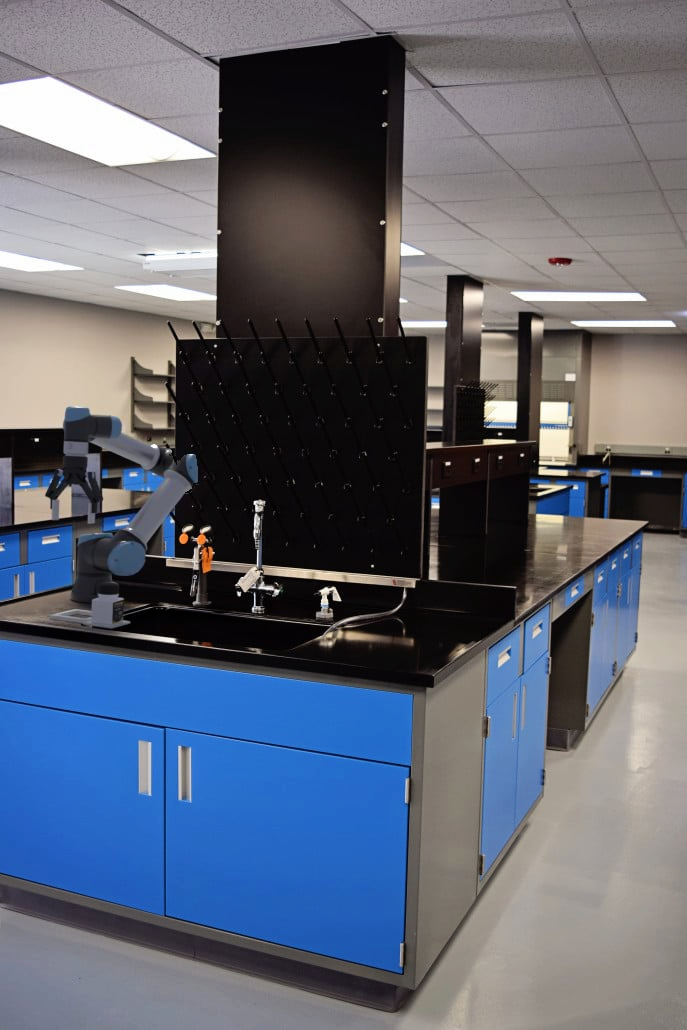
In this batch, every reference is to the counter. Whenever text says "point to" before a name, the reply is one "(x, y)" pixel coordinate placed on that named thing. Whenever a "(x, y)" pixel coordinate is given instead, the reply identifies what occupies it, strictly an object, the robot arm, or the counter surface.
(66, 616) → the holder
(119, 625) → the pad
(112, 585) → the medicine bottle
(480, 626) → the counter surface
